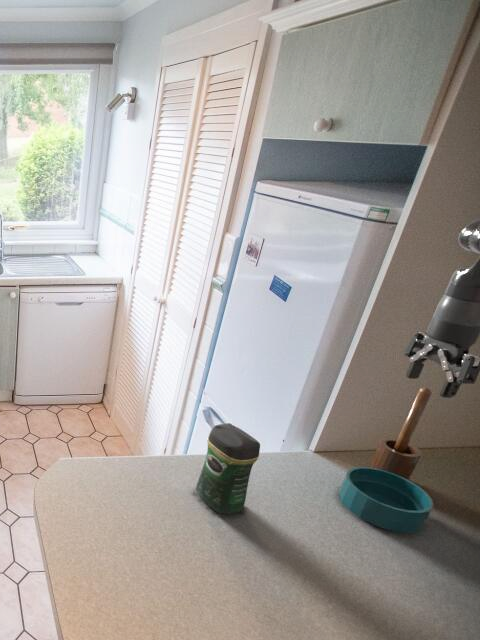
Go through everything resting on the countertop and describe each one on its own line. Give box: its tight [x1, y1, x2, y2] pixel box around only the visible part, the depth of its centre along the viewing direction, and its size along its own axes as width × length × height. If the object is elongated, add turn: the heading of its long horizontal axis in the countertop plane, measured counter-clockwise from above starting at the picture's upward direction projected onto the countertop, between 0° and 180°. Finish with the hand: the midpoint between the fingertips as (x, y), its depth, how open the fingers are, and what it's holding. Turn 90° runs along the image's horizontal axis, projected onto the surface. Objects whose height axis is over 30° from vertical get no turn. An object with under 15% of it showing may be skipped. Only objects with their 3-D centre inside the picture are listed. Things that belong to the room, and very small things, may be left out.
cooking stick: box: [393, 387, 433, 453], centre depth 104 cm, size 2×2×24 cm
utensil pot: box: [368, 437, 422, 481], centre depth 108 cm, size 7×7×9 cm
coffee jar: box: [195, 422, 261, 515], centre depth 99 cm, size 10×8×19 cm
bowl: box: [338, 466, 434, 534], centre depth 99 cm, size 14×14×6 cm
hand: (427, 386), depth 100 cm, fingers open, 8 cm apart
